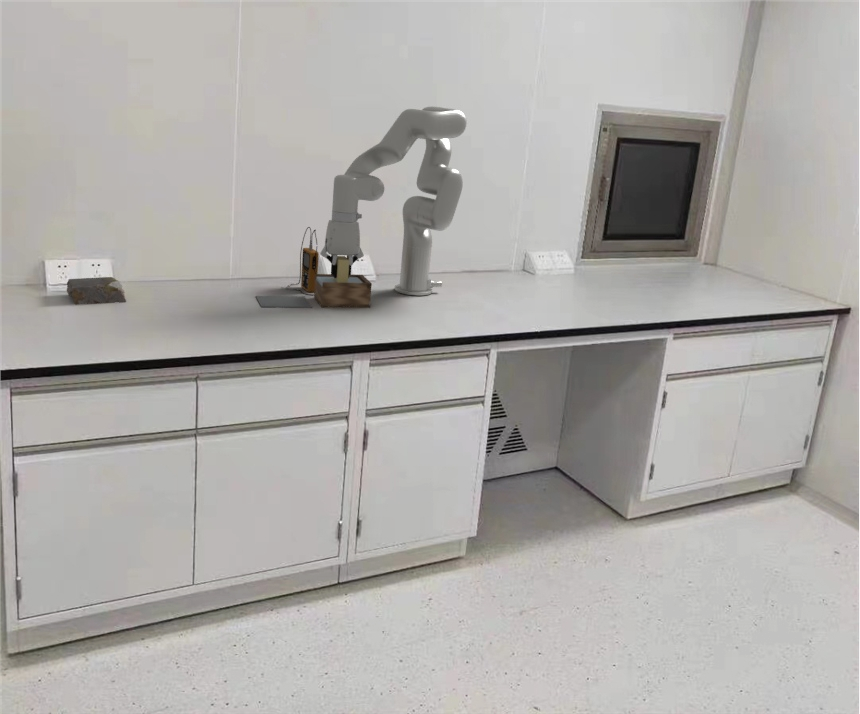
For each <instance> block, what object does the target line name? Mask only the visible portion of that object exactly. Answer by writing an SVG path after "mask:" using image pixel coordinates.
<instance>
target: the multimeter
mask: <svg viewBox="0 0 860 714" xmlns="http://www.w3.org/2000/svg"><path fill="white" fill-rule="evenodd" d="M308 229H309V231H310V232H311V235H310V238H309V239H310V240H309V245H308V246H309V247H303V245H304V242H305V241H304V240H305V237H306V234H307V231H308ZM316 231H317V230H316V229H314V230H313V231H312V229H311V227H310V226H308V227H307V228H306V229H305V231H304V234H303V238H302V241H301V247H300V254H299V264H300V265H299V280H298V283H297V285H299V284H300V286H301V288H302V289H304V290H305V291H307V292H308V293H305V292H302V290H301V289H295V288H292V287H291V286H293V285H292V284H293V283H291V284H288V285H287V286H286V287H282V286H281V287H280V288H281V289H285V290H289V291H290V290H291V291H299V292H300V293H301V294H303V295H307V296H311V293H315V274H319V273H318V271H319V269H318V268H319V253H320V252H319V251H318V247H316V249H313V238H312V236H313V235H314V236H315V237H314V238H315V243H316V244H318V239H317V238H318V237H317V233H316ZM300 282H301V283H300ZM309 293H310V294H309Z"/></svg>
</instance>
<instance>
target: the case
mask: <svg viewBox="0 0 860 714" xmlns="http://www.w3.org/2000/svg"><path fill="white" fill-rule="evenodd" d="M316 277H333V276H332V275H331V273H330V274H328V273H318V274H315V292H313V293H314V294H313V295H314V297H313V298H314V300H315V301H316V302H317V304H318V305H319V306H320V307H321V308H350V309H351V308H359V309H360V308H363V309H364V308H371V295H372V285H373V284H372V282H371V281H370V280H369V279H367V277H366V276H364V275H363V274H351V275H349V277H358V278H359V279H360V280H361V281H362V282H363V283H338V282H323V285H322V286H321V285H320V284H319V282H318V281H317V280H316Z"/></svg>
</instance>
